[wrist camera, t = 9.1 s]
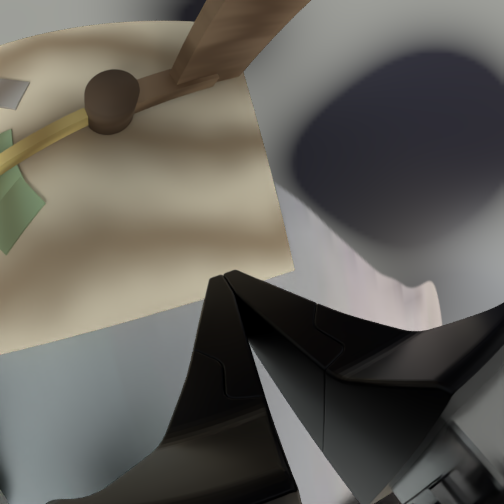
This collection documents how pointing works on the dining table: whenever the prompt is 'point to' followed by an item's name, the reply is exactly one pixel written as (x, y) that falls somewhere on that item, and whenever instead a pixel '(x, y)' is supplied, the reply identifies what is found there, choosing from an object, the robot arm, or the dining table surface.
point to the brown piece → (170, 71)
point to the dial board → (125, 189)
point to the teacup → (3, 498)
